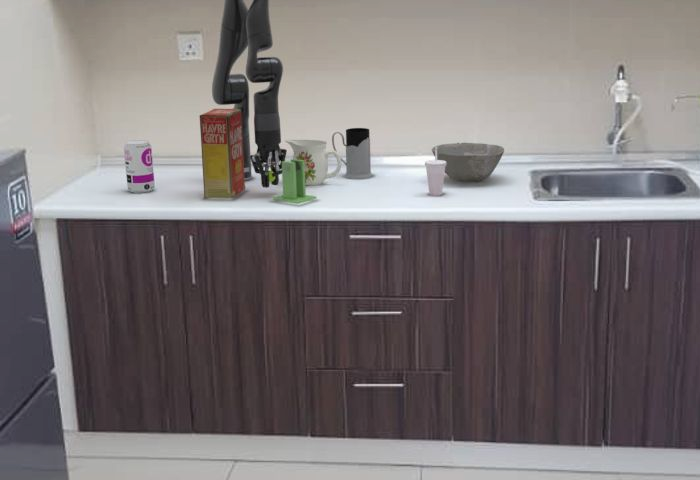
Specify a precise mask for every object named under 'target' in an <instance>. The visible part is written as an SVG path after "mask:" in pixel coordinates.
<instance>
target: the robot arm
mask: <svg viewBox="0 0 700 480" xmlns="http://www.w3.org/2000/svg"><path fill="white" fill-rule="evenodd" d="M222 9H223V11H222V17H221V23H220V33H219V43H218V53H217V57H216V64H215V68H214V72H213V78H212V83H211V97H212V99H213V102H214V103H215V104H216V105H219V106H227V105H234V106H233V107H232V109H241V121H242V140H243V160H244V178H245V182H246V181H251V180H252V179H253V175H252V167H253V170H254V173H255V174H257V175H258V174H259V176H260V182H261V183H260V184H261V186H262V187H263V188H266V189H267V188H270V183H271V185H273V186H278V185H279V182H280V175H277V176H275V180H274V181H272V182H269V175H268V172H269V171H273V172H274V173H275V172H277V171H280V170H282V162H283V161H286V157H287V153H288V152H287V151H288V150H287V148H286V149H285V148H281V146H280V144H281V143H282V133H281V117H280V112H279V111H280V109H279V107H280V106H279V93H280V86H281V83H282V77H283V73H284V65H283V63H282V61H281V59H280V58H278V56H277V57H276V56H264V57H258V54H259V53H263V52H264V51H268V50H270V49H272V47H273V44H274V42H273V34H272V33H273V32H272V27H271V18H270V0H252V2H251V5H250V6H249V8H248V6H247V4H246V3H245V1H244V0H224V3H223V8H222ZM246 50H247V59H246V65H245V74H244V73H232V74H231V71H232V69H233V67H234V65H235V64H236V62H237V61H238V59H239V58H240V57H241V56H242V55H243V54H244V52H245V51H246ZM249 82H250V83H252V84H264V83H269V84H268V86H267V87H266V88H264V89H262V90H258V91H256V92H254V94H253V112H254V115H253V127H254V129H253V130H254V144H255V145H256V147H257V149H256V152H255V154H251V142H250V140H251V137H250V122H249V121H250V85H249ZM269 169H270V170H269Z"/></svg>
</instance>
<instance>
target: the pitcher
mask: <svg viewBox="0 0 700 480" xmlns="http://www.w3.org/2000/svg"><path fill="white" fill-rule="evenodd" d="M284 142H285V143H287V144H288V145H289V146H290V148H291V149H292V152H293V156H292V159H297V160H304V165H305V186H319V185H323V184H324V182H325V181H326V180H327V179H328V180H329V179H331V178H334V177H336V176H337V175H338V174H339V173H340V171H341V169H342V161H341V158H342V157H341V155H340V153H339V151H337V150H336V151H337V152H336V151H334V149H333V150H328V151H327V150H326V149H327V141H324V140H320V139H319V140H318V139H285V140H284ZM331 155H332V156H334V157H335V158H336V162H337V165H336V168H335V170H333V172H331V173H328V170H329V156H331ZM340 157H341V158H340Z"/></svg>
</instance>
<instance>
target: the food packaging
mask: <svg viewBox="0 0 700 480" xmlns="http://www.w3.org/2000/svg"><path fill="white" fill-rule="evenodd" d="M199 129H200V130H199V131H200V143H201V144H200V145H201V163H202V180H203V182H202V183H203V199H213V198H214V199H233V198H235V197H236V196H238V195H239V194H241V192H243V191H244V190H246V181H245V178H244V160H243V140H242V121H241V109H233V108H212V109H211V110H209V111H207V112H204V113H202V114H199Z"/></svg>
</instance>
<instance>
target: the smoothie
mask: <svg viewBox="0 0 700 480" xmlns="http://www.w3.org/2000/svg"><path fill="white" fill-rule="evenodd" d="M434 147H435V146H434ZM424 166H425V169H426V170H425V171H426V178H427V185H428V186H427V187H428V194H429V195H430V196H434V197H435V196H442V194H443V188H444V181H445V174H446V173H445V166H446V161H443V160H437V147H435V156H434V159H430V160H429V159H428V160H426V161H424Z"/></svg>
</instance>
